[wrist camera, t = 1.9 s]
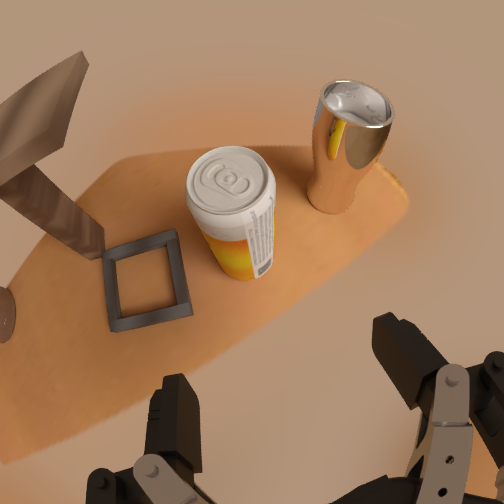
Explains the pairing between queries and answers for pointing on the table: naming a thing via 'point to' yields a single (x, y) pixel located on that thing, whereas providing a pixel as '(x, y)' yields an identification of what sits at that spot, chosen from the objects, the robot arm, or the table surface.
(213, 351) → the table surface
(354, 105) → the beer glass
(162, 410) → the robot arm
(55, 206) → the overhang bracket
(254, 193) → the beer can
